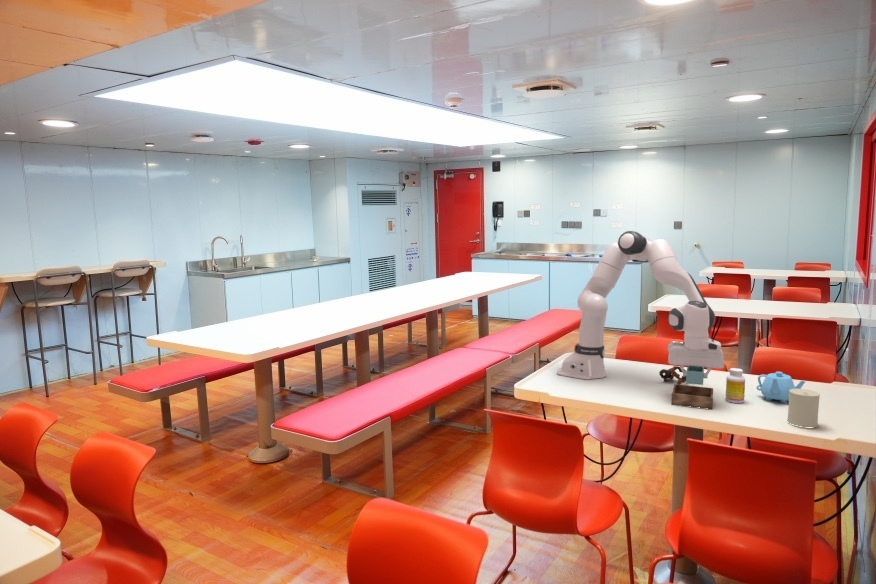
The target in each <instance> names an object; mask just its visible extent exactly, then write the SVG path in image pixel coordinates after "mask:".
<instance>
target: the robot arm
mask: <svg viewBox="0 0 876 584" xmlns="http://www.w3.org/2000/svg"><path fill="white" fill-rule="evenodd" d="M629 261H632V262H634V263H643V264H644V263H649V268H650V271H651V273H652V275H653V277H654V278H655V280H656V281H657V282H659V283H661V284H663V285H668V286H671V287H674V288H676V289H679V290H681V291H682V292H683V293H684V295H685V296H686V298H687V300H688V301H686V303H685V304H683V305H682V306H678V307H674V308H672V309H671V310H670V311H669V313H668V315H667V322H668V325H669V327H670V328H671V329H672V330H674V331H677V332H684V334H683V341H675V340H674V341H671V342H670V341H669V342H668V344H667V351H668V357H667V358H668V359H667V363H668V364H669V365H673V366H679V367H680V369H681V370H682V372H681V373H682V376H685V377H686V373H687V370H686V369H685V367H686V366H696V367H704V368H706V370H707V371H706V372H704V377H703V378H704V379H708V375H709V374H710V373H711V371H712V369H713V368H714V369H723V368H725V358H724V353H723V350H722V344H721V342H720V341H718V340H714V339H712V338H710V335H709V330H710V329H712V328H713V326H714V325H715V323H716V315H715V312H714V310H713V308H712V307H711V306H710V305H709V303H708V302H707V301H706V299H705V297H704V296H703V294H702V292H701V290H700V289H699V286H698V284H697V283H696V281H695V279H694V278H693V277H692V275H691V274H690V273H689V272H687V271H686V270H685V269H684V268H683V267H682V266H681V264H680V262H679V261H678V258H677V256H676V253H675V251H674V249H673V247H672V246H671V245H670V243H669V241H667V240H666V239H661V238H657V239H654V240H652V239H650V238H649V237H647V236H646V235H643V234H641V233H639V232H638V231H633V230H627V231H624V232H622V234H621V235H619V238H618V239H617V242H613V243H610V244H609V246H608V247H607V249H605V251H604V252H603V254H602V256H601V258H600V259H599V262H598V264H597V266H596V268H595V270H594V272H593V274H592V276H591V277H590V279H589V281H588V282H587V284H586V285H585V287H584V288H583V289H582V291H581V293H580V294H579V296H577V307H578V309H579V311H581V318H580V325H579V328H578V329H579V330H578V331H579V332H578V342H577V343H575V345H574V348H573V349H574V352H573V353H571V354H569V355H568V356H567V357H565V358H564V359H563V361H562V363H561V367H560V368H558V369H557V370H556V374H557V375H559V376H563V377H568V378H569V377H570V378H574V379H575V378H576V379H580V380H585V381H586V380H595V379H603V378H605V377H607V373H606V368H605V361H604V359H605V358H604V357H605V345H604V341H605V340H604V332H605V331H604V330H605V324H606V319H607V313H608V308H609V306H608V302H607V300H606V298H607V296H608V295H609V294H610V293H611V291H612V290H613V289H614V288H615V286H616V285H617V282H618V281H619V279H620V277H621V274H622V273H623V270H624V269H625V266H626V265H627V264H628V262H629ZM684 369H685V370H686V371H685V370H684Z"/></svg>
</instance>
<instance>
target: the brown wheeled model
mask: <svg viewBox="0 0 876 584" xmlns="http://www.w3.org/2000/svg"><path fill="white" fill-rule="evenodd" d="M683 369H684V370H685V371H687V369H685V368H683ZM676 370H678V372H680V373H683V372H682V370H681V369H680V366H679V365H673V366H672V367H670V368H668V369H666V368H662V369H661V370H660V371H659V377H660V378H661V379H663V382H667V380H668V379H669V380H672V379H673V380H674V378H675V379H676V380H677V382H676V384H679V385H683V383H686V377H685V376H683V375H682V376H681V375H680V374H679V373H678V372H677V371H676Z"/></svg>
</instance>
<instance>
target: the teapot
mask: <svg viewBox="0 0 876 584" xmlns="http://www.w3.org/2000/svg"><path fill="white" fill-rule="evenodd" d="M762 377H765V378H764V379H763V381H762V382H761V378H762ZM757 381H758V384H759V385H757V386H756V389H757V391H759V392H761V395H762V396H763V397H764V398H765V399H764V400H765V401H766V400H768V402H770V401H771V402H772V400H777V401H780V404H784V403H787V404H788V402H789V390H790V389H802V387H803V386H804V384H805V383H806V381H805V380H800V382H798V384H797V385H795V384H794V380H793V378H792V376H790V375H789V374H786V373H783V371H775V372H772V373H768V374H763V373H762V374H760V375H759V376H758V377H757Z"/></svg>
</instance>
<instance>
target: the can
mask: <svg viewBox="0 0 876 584" xmlns="http://www.w3.org/2000/svg"><path fill="white" fill-rule="evenodd" d="M820 395H821V394H820V393H819V392H818V391H815V390H813V389H807V388H806V389H805V388H801V389H790V390H789V400H788V408H787V409H788V410H787V419H786V422H787V421H788V422H789V423H791V424H794V425H798V426H802V427H817V426H819V425H818V422H819V407H820ZM817 428H818V427H817Z"/></svg>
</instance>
